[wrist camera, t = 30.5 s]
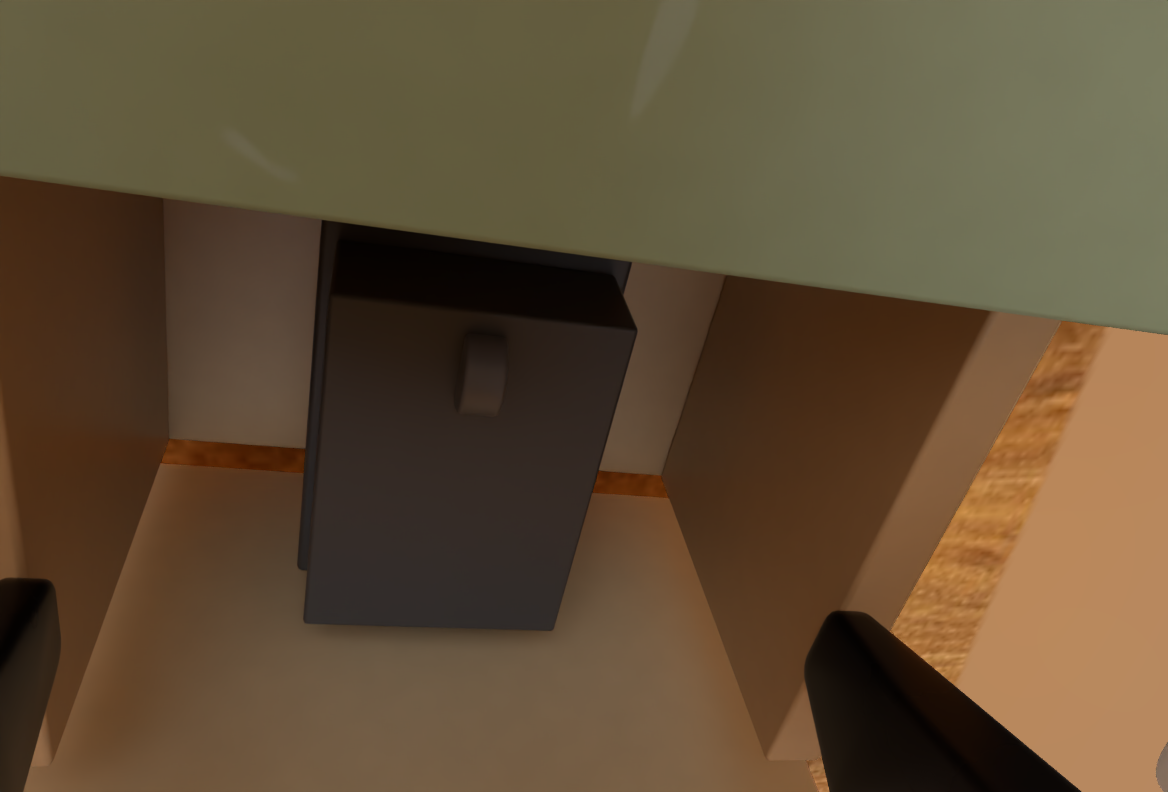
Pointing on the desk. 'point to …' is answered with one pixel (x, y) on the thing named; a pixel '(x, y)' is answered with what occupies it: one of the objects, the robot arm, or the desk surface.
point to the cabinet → (644, 131)
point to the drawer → (457, 655)
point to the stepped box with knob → (454, 426)
